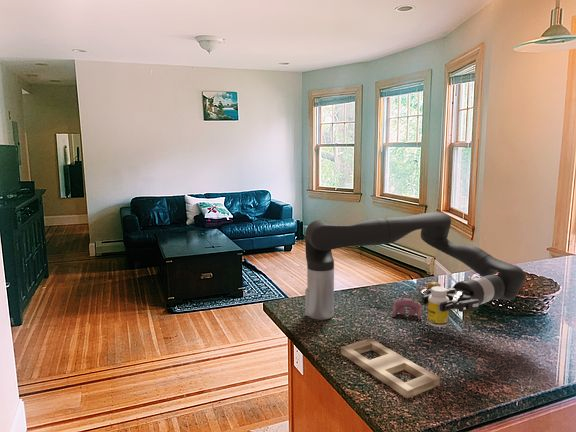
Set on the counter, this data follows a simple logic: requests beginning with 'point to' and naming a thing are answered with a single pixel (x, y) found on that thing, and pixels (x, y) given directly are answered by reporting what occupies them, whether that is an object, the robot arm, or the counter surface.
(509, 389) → the counter surface
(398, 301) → the pink arch block
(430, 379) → the socket rail
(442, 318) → the supplement bottle
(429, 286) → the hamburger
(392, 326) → the counter surface
